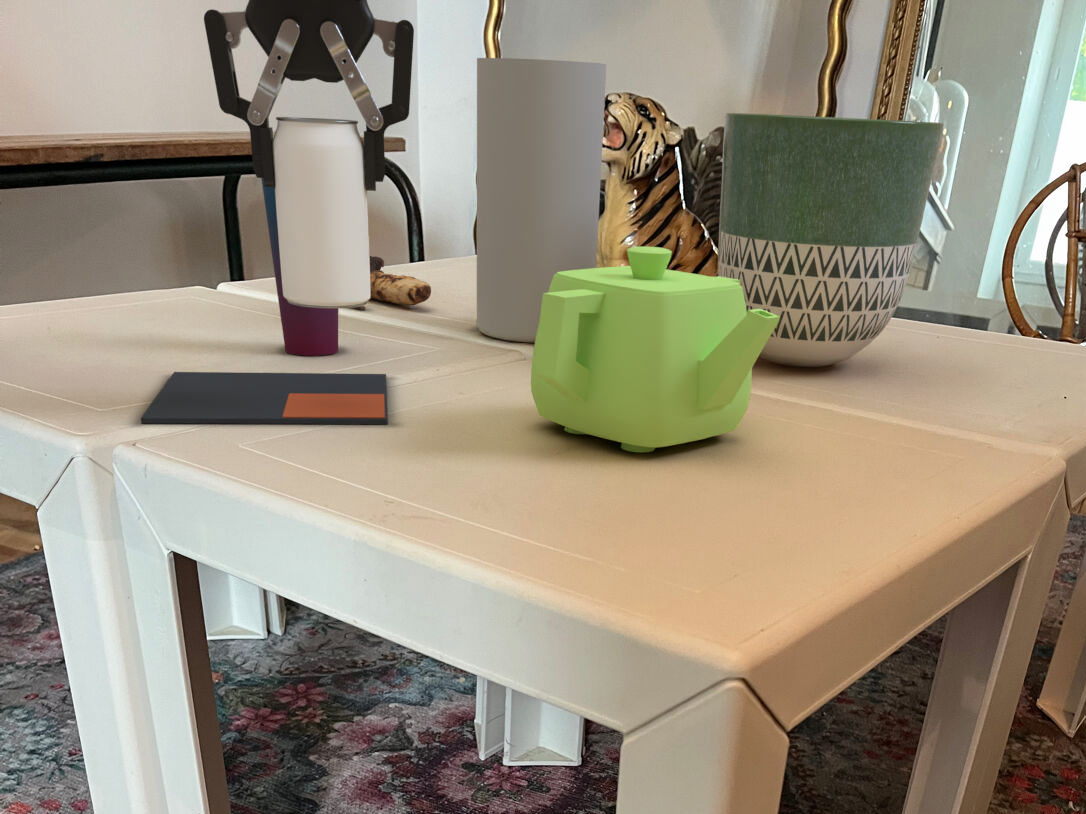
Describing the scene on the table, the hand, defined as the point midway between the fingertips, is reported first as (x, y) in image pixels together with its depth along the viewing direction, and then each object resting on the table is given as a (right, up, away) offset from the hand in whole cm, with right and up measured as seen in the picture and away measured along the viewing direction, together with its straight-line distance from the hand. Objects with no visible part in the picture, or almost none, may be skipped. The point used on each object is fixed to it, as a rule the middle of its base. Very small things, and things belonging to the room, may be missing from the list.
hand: (320, 187), depth 80 cm
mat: (-6, -12, +11) cm, 17 cm away
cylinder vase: (+14, +5, +41) cm, 43 cm away
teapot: (+24, -17, +5) cm, 30 cm away
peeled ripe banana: (-5, +13, +55) cm, 56 cm away
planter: (+41, -2, +32) cm, 52 cm away
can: (0, -7, +4) cm, 8 cm away
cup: (-7, -2, +28) cm, 29 cm away
